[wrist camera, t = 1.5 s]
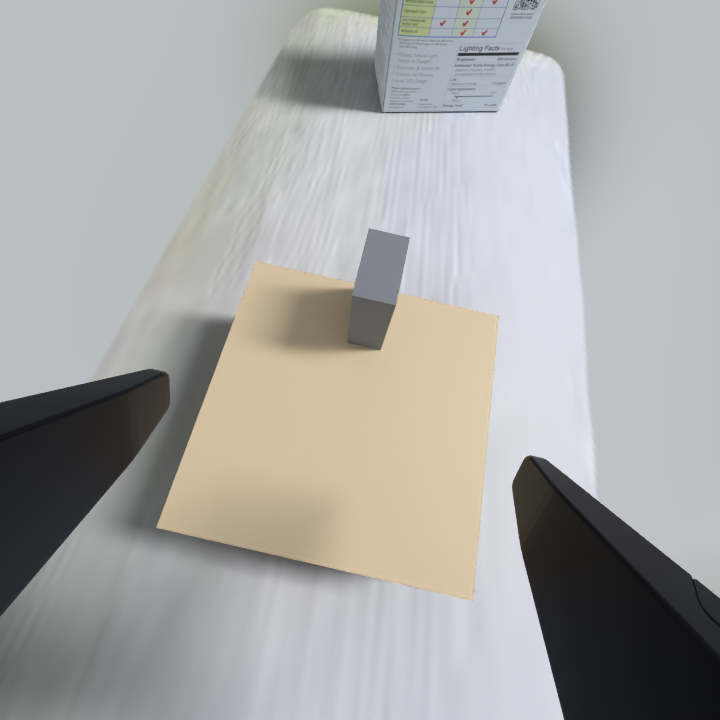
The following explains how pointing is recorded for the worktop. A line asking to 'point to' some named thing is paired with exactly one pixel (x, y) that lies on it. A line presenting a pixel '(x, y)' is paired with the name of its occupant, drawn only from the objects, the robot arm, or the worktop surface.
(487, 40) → the light bulb box
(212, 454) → the sliding lid
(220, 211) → the worktop surface
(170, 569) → the worktop surface
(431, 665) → the worktop surface
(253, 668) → the worktop surface
